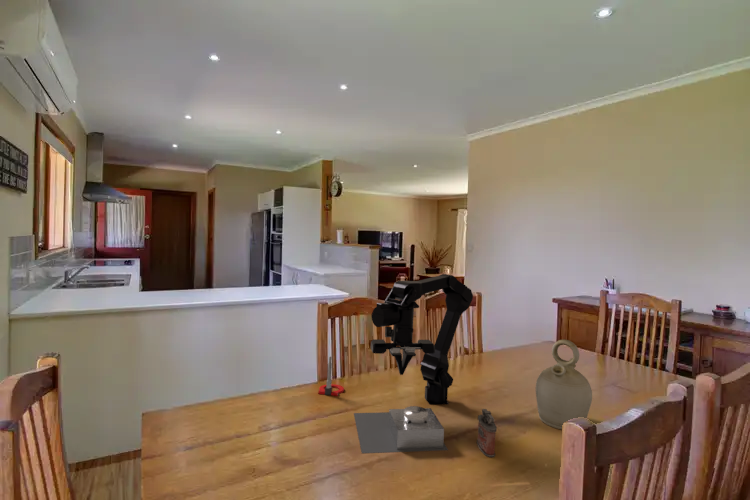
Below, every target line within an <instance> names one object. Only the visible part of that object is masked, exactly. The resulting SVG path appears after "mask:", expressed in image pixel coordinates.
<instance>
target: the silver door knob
mask: <svg viewBox="0 0 750 500" xmlns="http://www.w3.org/2000/svg"><path fill="white" fill-rule="evenodd" d="M425 408H426V407H425ZM425 408H424V407H422V406H417V405H410V406H407V407H405V408H403V409H404V420H405V421H406V422H408V423H411V424H424V423H426V422H427V421H428V411H427V410H426V409H425Z"/></svg>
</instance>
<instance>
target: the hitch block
mask: <svg viewBox="0 0 750 500" xmlns="http://www.w3.org/2000/svg"><path fill="white" fill-rule="evenodd" d="M404 409H405V408H389V410H388V412H389V429H390V432H391V435H392V437H393V440H394V443H395V446H396V448H397V450H404V449H431V448H443V442H444V439H445V438H444V437H445V428H444V426H443V425H442V423H441V422H440V420H439V419H438V417H437V415H436V413H434V410H433V409H432V408H428V407H427V408H426V407H425V409H426V410H427V411H428V421H427V422H426V423H424V424H411V423H408V422H406V421H405V420H404Z"/></svg>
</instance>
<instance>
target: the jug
mask: <svg viewBox="0 0 750 500" xmlns="http://www.w3.org/2000/svg"><path fill="white" fill-rule="evenodd" d="M563 345H564V346H566V347H569V349H571V351H572V354H573V355H572V357H571V358H570V359H569V360H565V359H563V358H562V357H560V355H559V354H558V353H559V352H558V350H559V347H561V346H563ZM551 356H552V358H553V359H554V361H555V362H556V364H554V365H552V366H549V367H547V368H545V369H543V370H542V371H541V372H540V373H539V374H538V376H537V378H536V382H535V398H536V404H537V405H536V406H537V414H538V417H539V419H540V421H541V422H542V423H544V424H545V425H547V426H549V427H551V428H554V429H556V430H557V429H558V430H561V431H562V425H563V423H564V422H566V421H568V420H570V419H573V418H578V417H584V418H587V419H588V415H589V413H590V408H591V405H592V402H593V391H592V390H593V389H592V386H591V383H590V382H589V380H588V379H587V378H586V376H585V375H583V374H582V372H580V371H578V370H577V369H576V366H577V363H578V361H580V351H579V348H578V347H577V345H576V344H575V343H574V342H572V341H571V340H569V339H559V340H556V342H554V344H553V345H552V348H551Z"/></svg>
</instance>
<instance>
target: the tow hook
mask: <svg viewBox="0 0 750 500" xmlns="http://www.w3.org/2000/svg"><path fill="white" fill-rule="evenodd" d="M332 365H333V363H332V356H329V357H328V364H327V377H326V378H327V379H326V384H322V385H321V386H319V387H318V388H319V389H318V395H323V396H324V395H325V396H332V397H338V396H339V394H342V393H344V391H345V387H344V386H343V385H340V384H335V383H332V368H333V366H332ZM333 388H334V389H336V390H333Z"/></svg>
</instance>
